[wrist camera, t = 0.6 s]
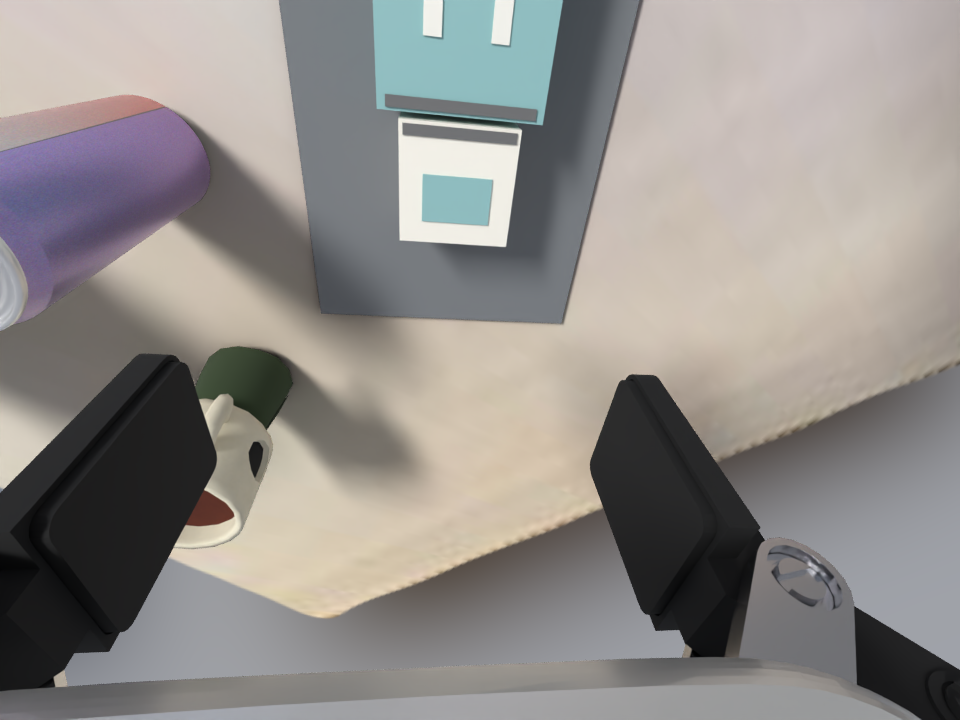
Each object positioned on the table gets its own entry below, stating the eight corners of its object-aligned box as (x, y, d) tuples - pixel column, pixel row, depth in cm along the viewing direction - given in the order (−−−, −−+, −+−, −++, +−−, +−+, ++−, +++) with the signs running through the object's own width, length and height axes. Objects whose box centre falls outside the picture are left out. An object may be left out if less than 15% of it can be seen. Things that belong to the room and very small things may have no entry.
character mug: (280, 429, 39) (224, 574, 28) (192, 404, 36) (95, 553, 26) (318, 337, 33) (265, 474, 23) (217, 301, 31) (108, 435, 21)
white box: (403, 106, 24) (397, 118, 21) (509, 116, 25) (522, 130, 21) (404, 213, 28) (399, 240, 24) (497, 220, 29) (506, 247, 25)
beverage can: (229, 140, 25) (41, 237, 13) (197, 224, 28) (16, 369, 16) (110, 66, 23) (-255, 102, 11) (88, 166, 25) (-226, 285, 13)
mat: (225, -424, 15) (220, -434, 15) (710, -310, 17) (716, -315, 17) (322, 310, 32) (320, 313, 32) (559, 320, 34) (561, 323, 34)
